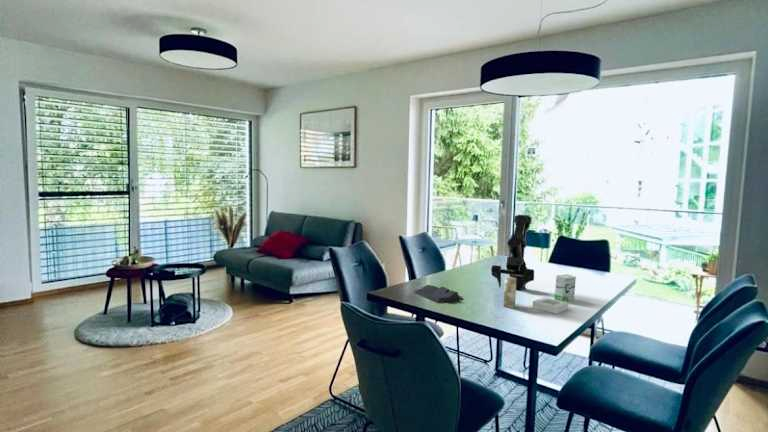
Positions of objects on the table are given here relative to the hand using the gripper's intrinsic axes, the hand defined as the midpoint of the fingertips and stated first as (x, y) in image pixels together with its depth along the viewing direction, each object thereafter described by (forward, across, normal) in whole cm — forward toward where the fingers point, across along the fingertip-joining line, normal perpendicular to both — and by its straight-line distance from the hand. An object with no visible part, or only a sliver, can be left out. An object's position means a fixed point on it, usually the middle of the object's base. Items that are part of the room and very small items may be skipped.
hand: (510, 288), depth 191 cm
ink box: (-11, +23, +23) cm, 34 cm away
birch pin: (+6, 0, +6) cm, 8 cm away
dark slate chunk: (+6, -33, +6) cm, 34 cm away
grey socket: (+2, +17, +10) cm, 20 cm away
